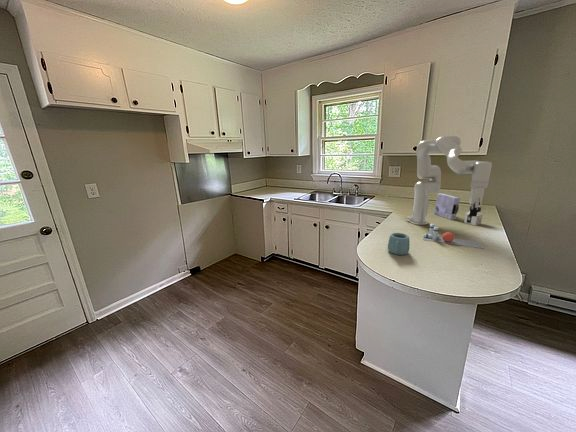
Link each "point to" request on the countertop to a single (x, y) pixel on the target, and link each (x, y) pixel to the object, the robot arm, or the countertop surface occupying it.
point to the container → (473, 219)
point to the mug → (398, 244)
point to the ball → (448, 237)
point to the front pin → (431, 236)
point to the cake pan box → (446, 206)
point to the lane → (458, 242)
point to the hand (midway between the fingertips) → (472, 215)
